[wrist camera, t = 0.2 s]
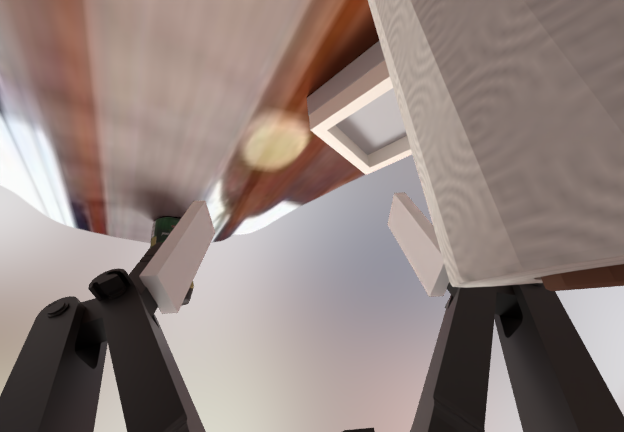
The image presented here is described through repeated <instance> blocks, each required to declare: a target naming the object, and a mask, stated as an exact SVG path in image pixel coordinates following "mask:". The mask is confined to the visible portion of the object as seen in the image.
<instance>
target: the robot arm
mask: <svg viewBox="0 0 624 432" xmlns="http://www.w3.org/2000/svg"><path fill="white" fill-rule="evenodd" d="M388 226H389V228H390V230H391V231H392V233H393V235H394V237H395V238H396V240H397V242H398V243H399V245H400V247H401V249H402V250H403V252H404V254H405V256H406V257H407V259H408V261H409V262H410V264H411V266H412V268H413V269H414V271H415V273H416V275H417V276H418V278H419V280H420V282H421V283H422V285H423V287H424V288H425V290H426V292H427V294H428V295H429V297H436V296H444V293H445V291H446V289H448V291H449V292H450V293H451V296H450V298H449V300H448V302H447V304H446V306H445V308H446V311H445V315H444V318H443V322H442V325H441V329H440V332H439V335H438V339H437V343H436V346H435V350H434V353H433V356H432V360H431V363H430V367H429V370H428V374H427V377H426V381H425V384H424V387H423V391H422V395H421V398H420V401H419V405H418V408H417V412H416V415H415V419H414V422H413V425H412V428H411V430H410V432H485V430H484V424H485V413H486V402H487V391H488V379H489V370H490V359H491V348H492V337H493V326H494V319H495V323H496V326H497V331H498V335H499V339H500V342H501V346H502V350H503V354H504V358H505V362H506V366H507V370H508V374H509V378H510V382H511V385H512V389H513V393H514V397H515V401H516V405H517V409H518V413H519V417H520V420H521V425H522V428H523V432H624V416H623V414H622V412H621V411H620V409H619V407H618V405H617V403H616V402H615V400H614V398H613V396H612V394H611V393H610V391H609V389H608V387H607V385H606V383H605V382H604V380H603V378H602V376H601V374H600V372H599V371H598V369H597V367H596V365H595V363H594V362H593V360H592V358H591V356H590V354H589V352H588V351H587V349H586V347H585V345H584V343H583V341H582V340H581V338H580V336H579V334H578V332H577V331H576V329H575V327H574V325H573V323H572V322H571V320H570V318H569V316H568V314H567V313H566V311H565V309H564V307H563V305H562V303H561V302H560V300H559V298H558V296H557V294H556V292H555V291H550V290H547V289H546V288H545V286H544V284H543V283H532V284H519V285H505V286H490V287H468V288H465V287H452V285H451V283H450V282H449V278H448V275H447V271H446V268H445V264H444V261H443V257H442V254H441V251H440V247H439V244H438V240H437V237H436V233H435V230H434V226H433V225H432V224H431V223H430V222H429V220H428V219H427V218H426V217H425V216H424V215H423V213H422V212H421V211H420V210H419V209H418V207H417V206H416V205H415V204H414V203H413V202H412V200H411V199H410V198H409V197H408V196H407V195H406V193H394V197H393V201H392V206H391V211H390V216H389V220H388ZM214 234H215V231H214V227H213V224H212V221H211V218H210V214H209V211H208V208H207V205H206V201H193V203H192V204H191V206H190V207H189V208H188V210H187V211H186V212H185V214H184V215H183V217H182V218H181V219H180V221H179V222H178V223H177V225H176V226H175V228H174V229H173V230H172V232H171V233H170V234H169V236H168V237H167V239H166V240H165V241H164V242H158V243H156V244H155V245H154V246H152V247H151V248H150V249H149V250H148V251H147V252H146V254H145V255H144V257H142V259H141V260H140V262H139V263H138V264H137V265H136V267H135V268H134V269H133V270H132V272H131V273H130V274H129V275H128V274H127V272H126V271H125V270H124V269H112V270H109V271H107V272H104V273H103V274H100V275H99V276H97V277H96V278H95V279H93V280H92V282H91V283H90V284H89V290H90V291H91V292H92V294H93V295H94V296H95V297H96V298H95V299H92V300H88V301H85V302H80V301H79V300H78V299H77V298H76V297H65V298H61V299H59V300H57V301H54V302H53V303H51V304H49V305H48V306H46V307H45V308H44V309H43V310H42V311H41V312H40V313H39V314H38V316H37V317H36V319H35V322H34V324H33V326H32V328H31V330H30V332H29V334H28V337H27V339H26V341H25V343H24V345H23V348H22V350H21V352H20V354H19V356H18V359H17V361H16V363H15V365H14V367H13V369H12V372H11V374H10V376H9V378H8V380H7V382H6V385H5V387H4V389H3V391H2V393H1V396H0V432H93V431H94V425H95V418H96V412H97V405H98V400H99V393H100V387H101V381H102V374H103V367H104V362H105V356H106V349H107V343H108V345H109V350H110V354H111V359H112V363H113V368H114V373H115V377H116V382H117V386H118V391H119V395H120V400H121V404H122V409H123V413H124V419H125V423H126V428H127V432H205V429H204V427H203V425H202V423H201V420H200V418H199V415H198V413H197V411H196V408H195V406H194V404H193V402H192V399H191V397H190V395H189V392H188V390H187V388H186V385H185V383H184V381H183V378H182V376H181V374H180V371H179V369H178V367H177V364H176V362H175V360H174V357H173V355H172V353H171V351H170V348H169V346H168V344H167V341H166V339H165V337H164V334H163V332H162V330H161V327H160V325H159V323H158V321H157V318H156V317H155V315H154V313H155V311H156V309H157V307H158V308H159V309H160V311H161V312H162V314H165V313H178V311H179V309H180V307H181V305H182V303H183V301H184V298H185V296H186V294H187V292H188V290H189V288H190V285H191V283H192V281H193V279H194V277H195V275H196V273H197V270H198V268H199V266H200V264H201V262H202V260H203V258H204V255H205V253H206V251H207V249H208V247H209V245H210V243H211V240H212V238H213V236H214ZM343 432H374V428H366V429H355V430H345V431H343Z"/></svg>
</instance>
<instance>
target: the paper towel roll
mask: <svg viewBox="0 0 624 432" xmlns="http://www.w3.org/2000/svg"><path fill="white" fill-rule="evenodd" d="M368 3H369V6H370V10H371V13H372V16H373V20H374V23H375V27H376V30H377V34H378V37H379V41H380V44H381V47H382V51H383V54H384V58H385V61H386V65H387V68H388V72H389V75H390V78H391V82H392V85H393V89H394V92H395V96H396V99H397V103H398V106H399V109H400V113H401V116H402V120H403V123H404V127H405V130H406V133H407V137H408V140H409V144H410V147H411V151H412V154H413V157H414V161H415V164H416V168H417V171H418V175H419V178H420V182H421V185H422V189H423V192H424V195H425V199H426V202H427V205H428V209H429V213H430V216H431V220H432V223H433V226H434V230H435V233H436V237H437V240H438V244H439V247H440V251H441V254H442V257H443V261H444V264H445V268H446V271H447V275H448V278H449V282H450V283H451V285H452V287H465V288H468V287H490V286H505V285H519V284H532V283H543V284H544V286H545V288H546V289H547V290H550V291H560V290H572V289H585V288H586V289H587V288H600V287H612V286H624V0H368Z"/></svg>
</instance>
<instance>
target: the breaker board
mask: <svg viewBox="0 0 624 432" xmlns="http://www.w3.org/2000/svg"><path fill="white" fill-rule="evenodd" d="M307 105H308V115H309V120H310V130H311V131H312V132H313V133H315V134H316V135H317V136H318V137H320V138H321V139H322V140H323V141H325V142H326V143H327V144H328V145H330V146H331V147H332V148H333V149H335V150H336V151H337V152H338V153H340V154H341V155H342V156H343V157H345V158H346V159H347V160H348V161H350V162H351V163H352V164H353V165H354V166H356V167H357V168H358V169H359V170H361V171H362V172H363V173H364V174H366V175H367V174H369V173H371V172H373V171H376V170H378V169H380V168H382V167H384V166H387V165H389V164H391V163H394V162H396V161H398V160H400V159H402V158H405V157H407V156H409V155H412V151H411V147H410V144H409V140H408V137H407V133H406V130H405V127H404V123H403V120H402V116H401V113H400V109H399V106H398V103H397V99H396V96H395V92H394V89H393V85H392V82H391V78H390V75H389V72H388V68H387V65H386V61H385V58H384V54H383V51H382V47H381V44H380V41H378V42H377V43H375V44H374V45H373V46H372V47H370V48H369V49H368V50H367V51H365V52H364V53H363V54H362V55H360V56H359V57H358V58H357V59H355V60H354V61H353V62H351V63H350V64H349V65H348V66H346V67H345V68H344V69H343V70H341V71H340V72H339V73H338V74H336V75H335V76H334V77H333V78H331V79H330V80H329V81H327V82H326V83H325V84H324V85H322V86H321V87H320V88H319V89H317V90H316V91H315V92H314V93H312V94H311V95H310V96H309V97H307Z"/></svg>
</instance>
